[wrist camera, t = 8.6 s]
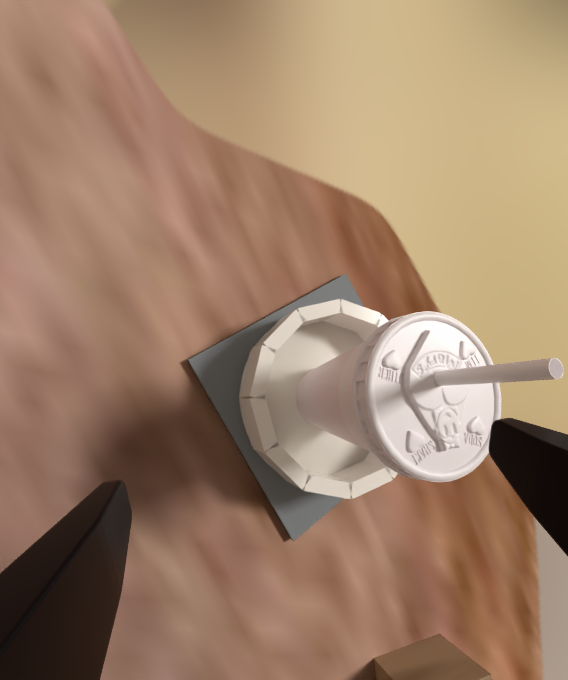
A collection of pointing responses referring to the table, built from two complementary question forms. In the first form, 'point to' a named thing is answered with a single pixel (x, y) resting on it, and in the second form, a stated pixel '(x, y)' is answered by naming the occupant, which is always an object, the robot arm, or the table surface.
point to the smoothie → (416, 395)
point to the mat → (223, 390)
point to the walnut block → (428, 663)
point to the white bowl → (281, 406)
